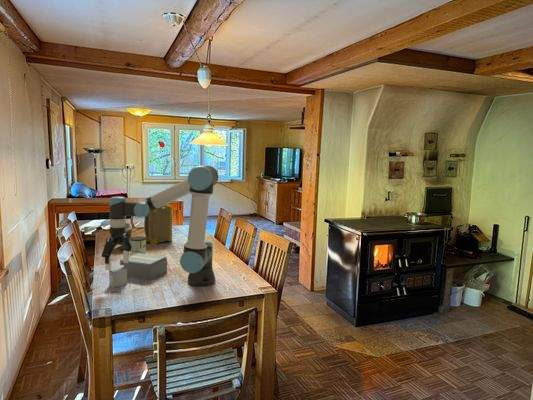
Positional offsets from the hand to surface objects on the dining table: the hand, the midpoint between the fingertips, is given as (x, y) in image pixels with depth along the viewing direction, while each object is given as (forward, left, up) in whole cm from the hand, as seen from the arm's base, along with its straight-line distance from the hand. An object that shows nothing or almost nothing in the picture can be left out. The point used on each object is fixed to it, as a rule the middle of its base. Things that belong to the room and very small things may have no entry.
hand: (117, 266), depth 188 cm
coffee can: (+22, -46, -11) cm, 52 cm away
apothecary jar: (+48, -65, -11) cm, 81 cm away
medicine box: (0, 0, -11) cm, 11 cm away
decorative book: (+36, -91, -11) cm, 98 cm away
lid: (-1, -21, -4) cm, 22 cm away
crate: (-2, -21, -10) cm, 24 cm away
